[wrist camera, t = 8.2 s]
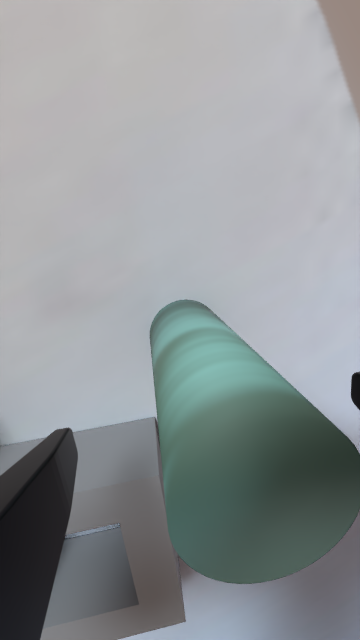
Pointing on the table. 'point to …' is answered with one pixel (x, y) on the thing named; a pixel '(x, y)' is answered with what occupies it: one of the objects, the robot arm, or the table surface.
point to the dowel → (244, 455)
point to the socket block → (113, 539)
